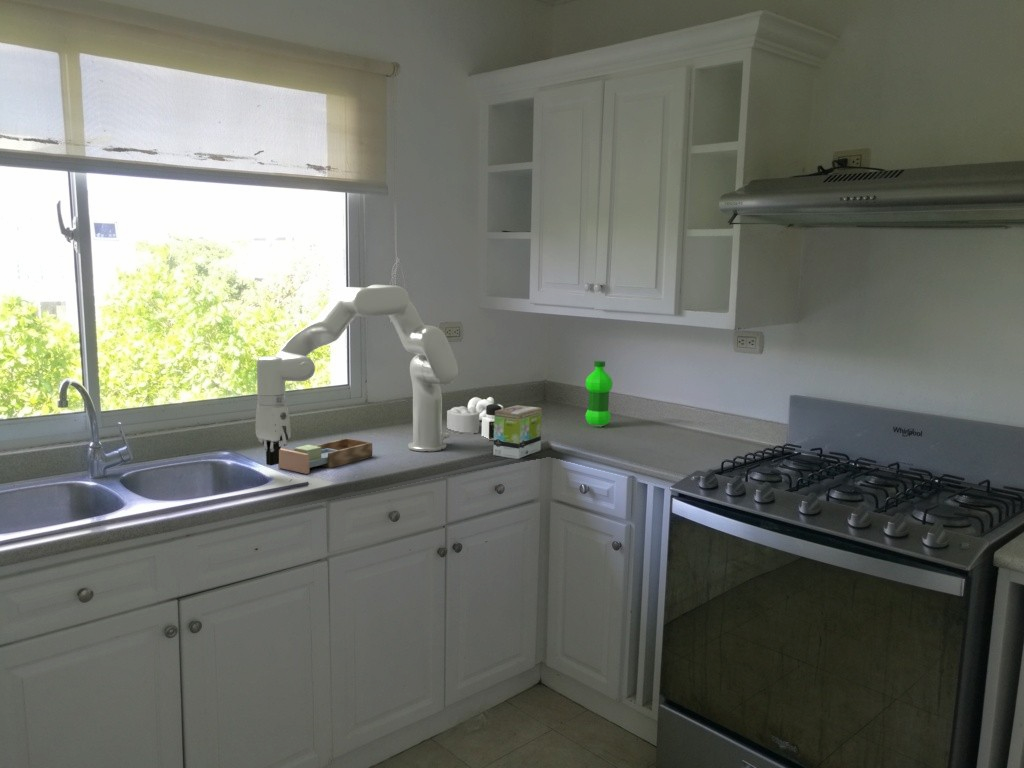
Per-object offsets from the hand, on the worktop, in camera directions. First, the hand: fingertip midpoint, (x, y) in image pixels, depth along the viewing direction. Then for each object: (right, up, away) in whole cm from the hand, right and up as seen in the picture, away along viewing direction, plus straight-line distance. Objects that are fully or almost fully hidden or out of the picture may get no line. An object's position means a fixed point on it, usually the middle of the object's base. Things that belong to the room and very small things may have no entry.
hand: (272, 464), depth 224 cm
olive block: (+7, 0, +11) cm, 13 cm away
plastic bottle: (+101, +6, +80) cm, 129 cm away
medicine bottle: (+62, +3, +56) cm, 83 cm away
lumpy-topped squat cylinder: (+50, +5, +67) cm, 84 cm away
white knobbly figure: (+56, +8, +88) cm, 104 cm away
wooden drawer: (+9, -2, +13) cm, 16 cm away
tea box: (+70, 0, +34) cm, 77 cm away
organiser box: (+14, -1, +21) cm, 26 cm away
